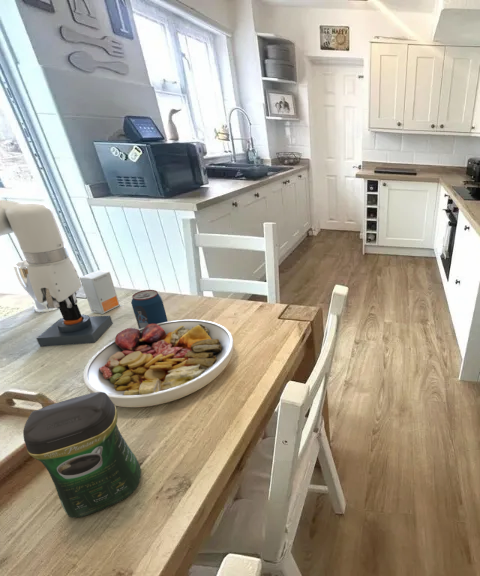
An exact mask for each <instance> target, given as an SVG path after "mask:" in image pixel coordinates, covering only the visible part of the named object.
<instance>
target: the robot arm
mask: <svg viewBox="0 0 480 576" xmlns="http://www.w3.org/2000/svg"><path fill="white" fill-rule="evenodd" d="M9 234H14V236H15V239H16V241H17V243H18V245H19V247H20V250H21V252H22V254H23V256H24V259H25V260H26V261H27V263H28V266H27V268H28V275H29V279H30V282H31V285H32V288H33V291H34V294H35V296H36V298H37V300H38V302H39V303H43V302H46V301H47V304H48V308H49V309H50V308H58V309H59V313H60V314H61V316H62V318H63V319H64V320H65V321H67V320H78V319H79V318H80V317H81V311H80V308H79V306H78V298H77V294H78V292H79V291H80V289H81V287H82V283H81V280H80V276H79V273H78V271H77V269H76V267H75V265H74V263H73V261H72V259H71V257H70V255H69V252H68V250H67V247H66V244H65V241H64V239H63V236H62V233H61V232H60V228H59V226H58V223H57V220H56V218H55V216H54V212H53V211H52V208H50V206H49V205H47V204H45V203H40V202H39V203H38V202H25V203H24V202H18V201H14V200H7V199H0V237H1V236H4V235H9ZM58 309H57V310H58Z"/></svg>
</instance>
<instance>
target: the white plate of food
mask: <svg viewBox="0 0 480 576" xmlns="http://www.w3.org/2000/svg"><path fill="white" fill-rule="evenodd" d="M234 345H235V344H234V338H233V334H231V332H230V330H228V329H227V328H226V327H225V326H223V325H222V324H219V323H217V322H214V321H211V320H203V319H178V320H169V321H168V322H163V323H159V324H153V323H152V324H149V325H147V326H146V327H144V328H141V329H139V328H135V327H128V328H125V329H123V330H121V331H120V332H119V333H117V334H116V336H115V339H114V340H112V341H111V342H109V343H107V344H106V345H105V346H103V347H102V348H101V349H99V350H98V351H97V352H96V353H95V354H94V355H93V356H92V357H91V358H90V359H89V360H88V362H87V364H86V366H84V370H83V374H82V378H83V382H84V385H85V387H86V390H87V391H88V392H89V394H90V393H95V392H104V393H106V394H107V395H108V397H109V398H110V400H111V401H112V402H113V404H114V405H115V406H116V407H122V408H144V407H145V408H146V407H153V406H158V405H162V404H166V403H170V402H174V401H177V400H179V399H182V398H184V397H186V396H189V395H191V394H193V393H195V392H197V391H199V390H200V389H202V388H204V387H205V386H207V385H209V384H210V383H211V382H213V381H214V380H215V379H217V377H219V375H221V374H222V373H223V371H224V370H225V369H226V367H227V366H228V365H229V363H230V361H231V359H232V356H233V353H234V347H235V346H234Z"/></svg>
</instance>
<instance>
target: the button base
mask: <svg viewBox="0 0 480 576" xmlns="http://www.w3.org/2000/svg"><path fill="white" fill-rule="evenodd" d="M81 317H82V321H81V322H78V323H75V324H71V325H65V323H64V319H63V317H61V318H59V319H58V320H57V321H56V322H54V323H53V324H52V325H50V326H49V327H48V328H46V330H44V331H42V333H41V334H40V335H38V336H37V337H36V341H37V343H38V345H39V347H41V348H42V347H55V346H72V345H84V344H85V345H87V344H95V343H96V342H97V341H98V340H99V339H100V338H101V337H102V336H103V334H105V333H106V331H107V330H108V329H109V328H110V327H111V326H112V325H113V323H114V321H113V319H112V317H111V315H96V316H95V315H94V316H93V315H92V316H90V315H87V314H84V313H83V314H81Z"/></svg>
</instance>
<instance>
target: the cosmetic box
mask: <svg viewBox="0 0 480 576" xmlns="http://www.w3.org/2000/svg"><path fill="white" fill-rule="evenodd" d="M79 278H80V282H81V287H82V289H83V291H84V294H85V297H86V300H87V303H88V306H89V309H90V311H91V313H94V314H99V315H104V314H107V312H110V311H112V310H113V309H116V308H118V307H120V300H119V297H118V295H117V291H116V288H115V285H114V281H113V278H112V275H111V272H110V271H106V270H101V269H97V270H95V271H92V272H89V273H87V274H85V275H82V276H79Z"/></svg>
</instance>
